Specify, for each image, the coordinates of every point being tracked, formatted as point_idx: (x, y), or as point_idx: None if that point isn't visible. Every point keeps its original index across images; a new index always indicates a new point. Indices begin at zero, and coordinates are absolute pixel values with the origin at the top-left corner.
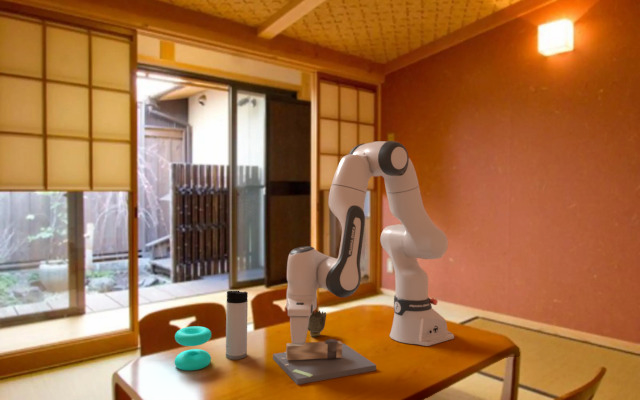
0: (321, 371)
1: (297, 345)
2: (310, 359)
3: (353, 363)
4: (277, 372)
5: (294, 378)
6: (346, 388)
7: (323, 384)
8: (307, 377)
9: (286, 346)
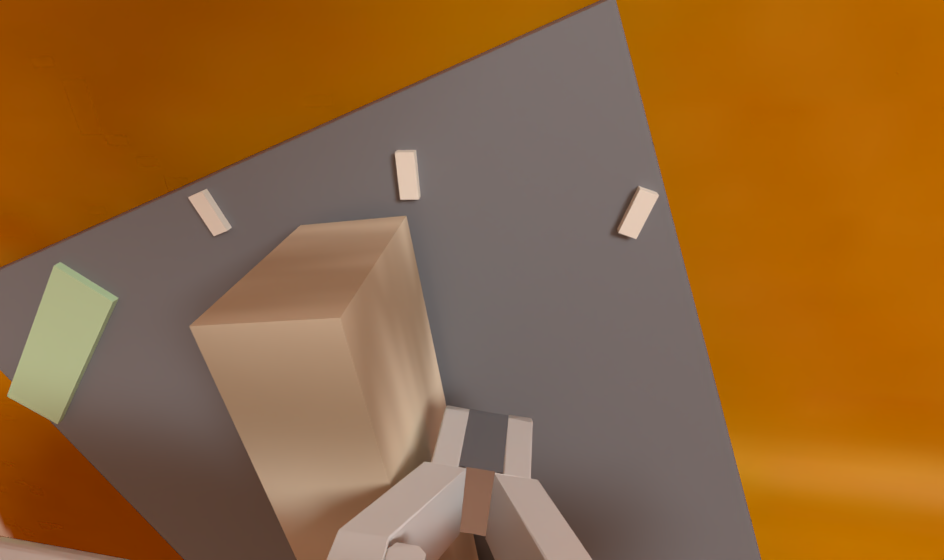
0: (158, 480)
1: (268, 466)
2: None
3: None
4: (177, 85)
5: (2, 267)
6: (73, 534)
7: None
8: (11, 376)
9: (349, 289)
